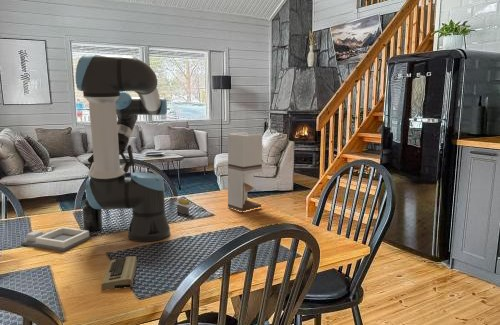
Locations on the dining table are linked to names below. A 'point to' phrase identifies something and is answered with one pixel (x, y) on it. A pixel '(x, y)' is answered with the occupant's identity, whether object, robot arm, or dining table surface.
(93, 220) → the supplement bottle
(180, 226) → the dining table surface
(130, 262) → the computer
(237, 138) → the notched beige pillar
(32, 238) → the charging dock
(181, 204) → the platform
